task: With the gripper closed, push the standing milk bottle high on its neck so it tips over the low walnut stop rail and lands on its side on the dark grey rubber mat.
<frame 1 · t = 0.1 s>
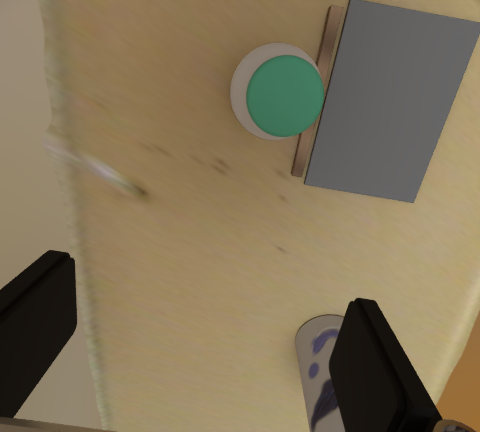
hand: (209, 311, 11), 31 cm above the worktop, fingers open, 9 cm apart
milk bottle: (268, 90, 38), on the worktop
stop rail: (313, 98, 38), on the worktop
container: (327, 339, 51), on the worktop
mat: (383, 111, 38), on the worktop
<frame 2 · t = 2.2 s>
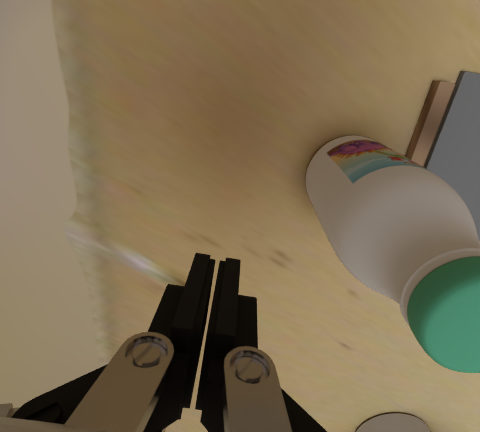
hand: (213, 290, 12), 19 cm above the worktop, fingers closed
milk bottle: (345, 175, 30), on the worktop
stop rail: (401, 185, 30), on the worktop
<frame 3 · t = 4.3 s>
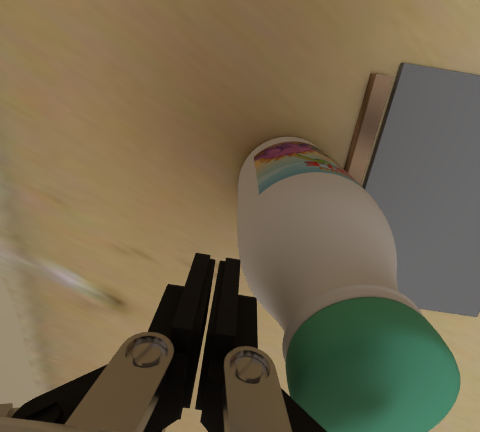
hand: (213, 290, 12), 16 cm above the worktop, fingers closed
milk bottle: (284, 181, 27), on the worktop, touching gripper
stop rail: (345, 191, 27), on the worktop
mat: (442, 206, 28), on the worktop
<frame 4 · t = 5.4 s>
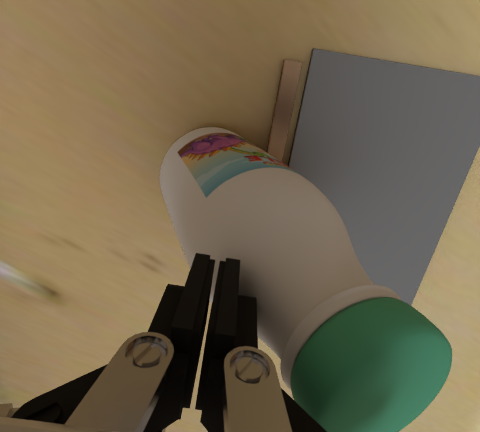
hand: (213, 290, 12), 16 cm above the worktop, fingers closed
milk bottle: (207, 174, 26), point 1 cm above the worktop, touching gripper
stop rail: (269, 179, 27), on the worktop
mat: (366, 195, 27), on the worktop
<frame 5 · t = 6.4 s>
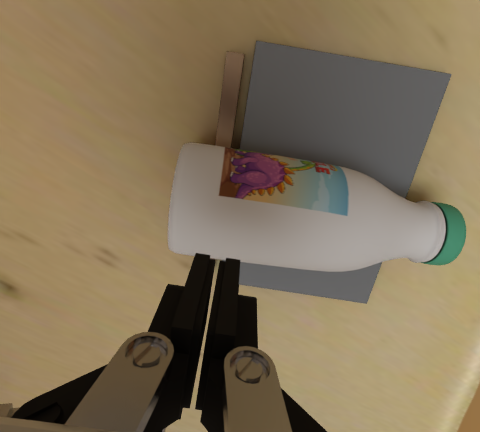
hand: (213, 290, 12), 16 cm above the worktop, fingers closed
milk bottle: (172, 196, 23), point 5 cm above the worktop, touching mat, stop rail
stop rail: (220, 173, 27), on the worktop
mat: (318, 189, 27), on the worktop
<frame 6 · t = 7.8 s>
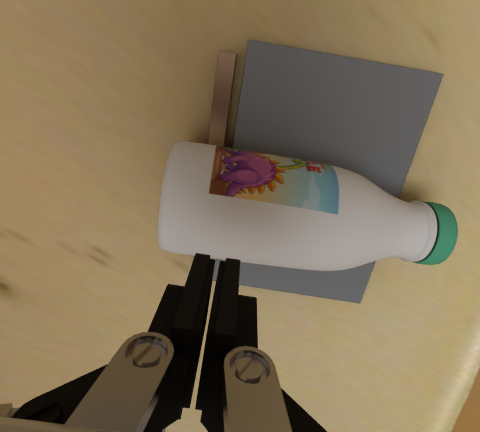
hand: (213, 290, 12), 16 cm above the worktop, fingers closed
milk bottle: (164, 194, 23), point 5 cm above the worktop, touching mat, stop rail
stop rail: (212, 172, 27), on the worktop
mat: (311, 188, 27), on the worktop
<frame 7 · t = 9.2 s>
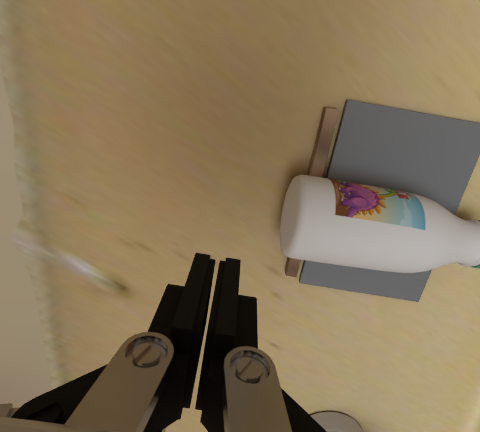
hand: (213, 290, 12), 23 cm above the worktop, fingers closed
milk bottle: (286, 214, 30), point 5 cm above the worktop, touching mat, stop rail
stop rail: (308, 196, 34), on the worktop
mat: (384, 209, 35), on the worktop
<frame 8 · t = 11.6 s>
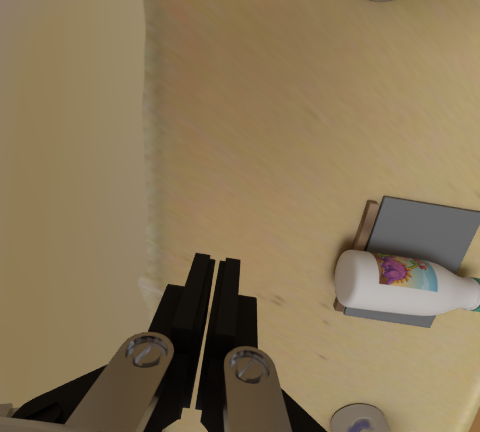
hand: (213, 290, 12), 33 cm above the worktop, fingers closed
milk bottle: (342, 277, 44), point 5 cm above the worktop, touching mat, stop rail
stop rail: (353, 257, 49), on the worktop
container: (356, 420, 62), on the worktop
mat: (407, 265, 49), on the worktop
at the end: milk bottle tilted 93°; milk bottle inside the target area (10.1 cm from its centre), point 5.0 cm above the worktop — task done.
